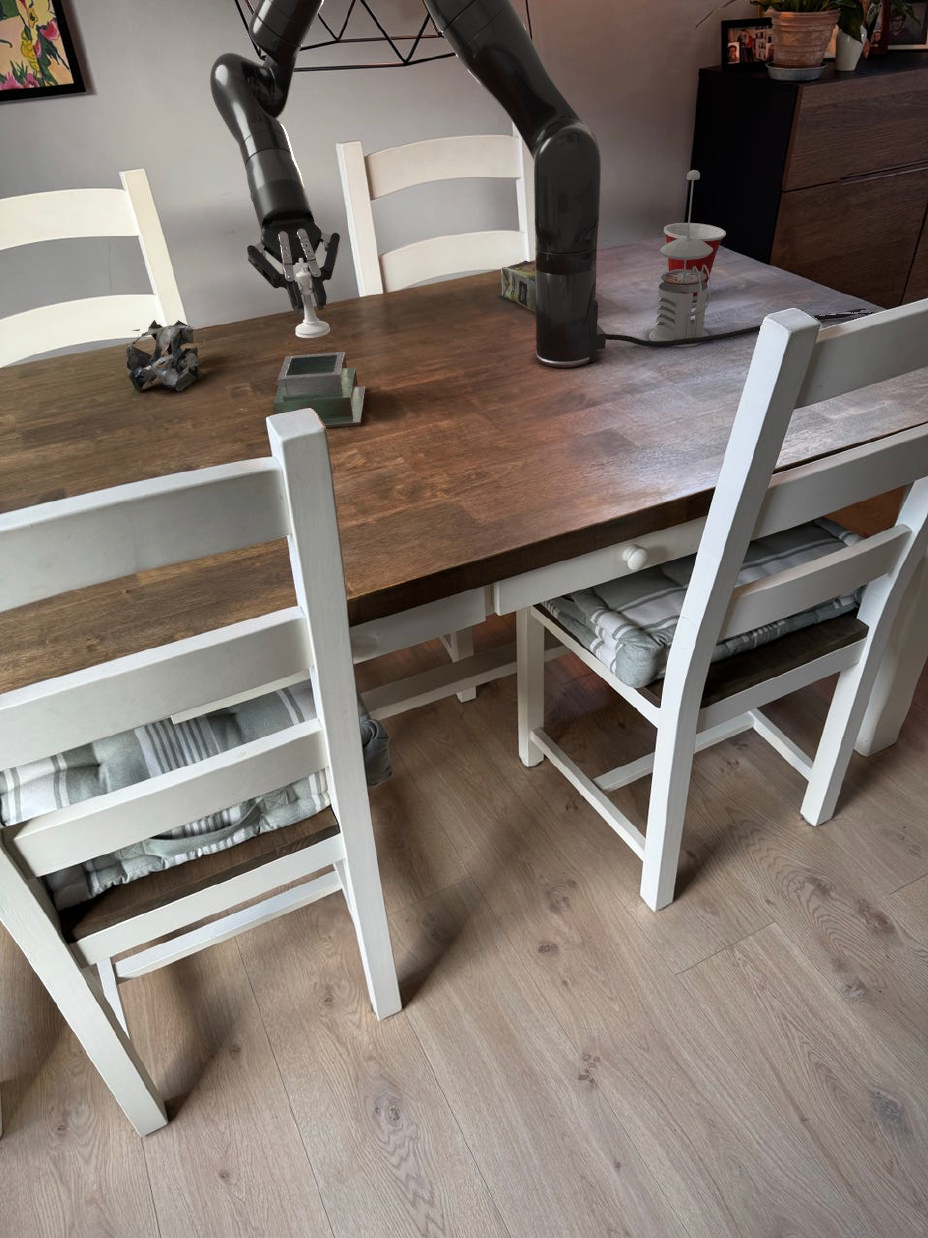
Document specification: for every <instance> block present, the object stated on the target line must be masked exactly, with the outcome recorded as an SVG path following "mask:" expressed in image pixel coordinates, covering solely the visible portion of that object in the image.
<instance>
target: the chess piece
mask: <svg viewBox="0 0 928 1238" xmlns="http://www.w3.org/2000/svg"><path fill="white" fill-rule="evenodd" d="M294 266H295V268H299V270H300V271H298V272H297V273H296V274H295V277H296V279H297V282H298V284H299V285H300V287H301V289H299V290H300V293H301V296H303V304H304V319H303V320H302V323H299V324H297V326H296V327H295V336H296V337H299V338H302V339H316V338H320V337H324V336H326V335H328V334H329V333H330V332H331V328H330V324H329V323H328V322H326V321H323V320H320V319H319V317H317V313H316V311H315V308H314V303H313V300H312V296H311V295H313V293H314V291H313V289H312V287H310V284H311V280H310V278H311V273H310V272H308V271H306V269H305V267H308V263H304V262H303V258H299V263H296V264H295V265H294Z"/></svg>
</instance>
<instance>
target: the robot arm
mask: <svg viewBox="0 0 928 1238" xmlns="http://www.w3.org/2000/svg"><path fill="white" fill-rule="evenodd" d="M423 1H424V4H425V6H426V8H427V10H428V12H429V14H430V16H431V18H432V20H433V21H434V23H435V25H436V26H437V28H438V30H439V31H440V33H441V34H442V36H443V37H444V39H445V40H446V42H447V43H448V45H449V47H450V48H451V49H452V52H454V54H455V55H456V56H457V58H458V59H459V61H460V62H461V63H462V64H463V66H464V67H465V68H466V70H467V71H468V73H470V74H471V76H472V77H473V78H474V79H475V81H477V82H478V84H479V85H480V86H481V87H482V88H483V89H484V91H486V92H487V93H488V94H489V95H490V96H491V98H493V99H494V100H495V101H496V102H497V104H498V105H499V106H500V107H501V108H502V110H504V112H505V113H506V114H507V116H508V117H509V119H510V120H511V122H512V123H513V125H514V127H515V128H516V131H518V134H519V136H520V137H521V139H522V141H523V142H524V144H525V146H526V148H527V150H528V152H529V154H530V156H531V158H532V160H533V193H534V194H533V200H534V201H533V202H534V203H533V204H534V246H535V247H534V250H535V251H534V252H535V253H534V256H535V259H534V260H535V267H536V268H535V269H536V313H535V360H536V361H537V362H538V363H539V364H541V365H543V366H547V367H551V368H563V369H564V368H565V369H566V368H575V367H580V366H584V365H586V364H589V363H595V362H596V363H597V351H599V350H605V349H606V347H607V346H606V345H607V344H606V343H607V341H621V342H628V343H632V344H635V345H637V346H642V347H651V348H662V347H671V346H676V345H685V344H694V343H701V344H703V343H708V342H713V341H714V342H715V341H720V340H725V339H731V338H735V337H740V336H744V335H748V334H752V333H757V332H760V331H759V330H760V326H761V325H762V324H760V325H754V326H750V327H746V328H741V329H738V330H734V331H733V330H732V331H728V332H722V333H717V334H711V335H709V336H705V337H697V338H688V339H679V340H670V341H652V340H645V339H641V338H639V337H635V336H631V335H626V334H615V333H606V332H605V330H603V328H602V327H601V326H600V325H599V324H598V321H599V319H598V315H599V300H598V298H597V296H596V295H597V264H598V262H597V261H598V236H599V234H598V233H599V226H600V207H601V205H600V204H601V203H600V202H601V181H602V180H601V179H602V156H601V150H600V147H599V144H598V140H597V138H596V136H595V134H594V132H593V131H592V130H591V129H590V127H589V126H588V124H587V123H585V122H584V121H583V119H582V118H581V116H580V115H579V114H578V113H577V112H576V110H575V109H574V108H573V107H572V106H571V104H570V103H569V101H568V100H567V99H566V98H565V96H564V95H563V94H562V93H561V91H560V90H559V88H558V87H557V85H556V84H555V82H554V81H553V79H552V78H551V75H549V73H548V71H547V69H546V67H545V65H544V63H543V61H542V59H541V57H540V55H539V52H538V50H537V48H536V45H535V44H534V42H533V40H532V38H531V36H530V34H529V32H528V30H527V29H526V26H525V24H524V22H523V21H522V18H521V17H520V15H519V13H518V11H517V9H516V8H515V6H514V4H513V3H512V1H511V0H423ZM323 3H324V0H258V3H257V5H256V7H255V8H254V11H253V13H252V15H251V18H250V20H249V23H248V34H249V36H250V38H251V40H252V41H253V43H254V44H255V46H257V48H259V49H260V50H261V52H263V53H264V54H265V60H264V61H263V64H260V63H259V62H256V61H254V60H251V59H249V58H247V57H246V56H243V55H241V54H238V53H235V52H226V53H225V52H224V53H223V54H220V55H219V56H218V57H216V59H215V61H214V62H213V64H212V66H211V70H210V75H209V79H210V80H209V85H210V86H209V87H210V92H211V97H212V100H213V102H214V104H215V105H214V106H215V107H216V109H217V111H218V113H219V115H220V116H221V118H222V120H223V121H224V124H225V125H226V127H227V129H228V130H229V133H230V135H231V136H232V137H233V139H234V140H235V142H236V143H237V145H238V146H239V152H240V155H241V158H242V161H243V165H244V168H245V169H244V170H245V173H246V179H247V180H246V181H247V185H248V190H249V197H250V199H251V202H252V204H253V208H254V211H255V215H256V218H257V221H258V225H259V229H260V232H261V234H260V241H259V242H258V243H257V244H255V245H253V244H250V245H248V246H247V247H246V254H247V261H248V262H249V263H250V264H251V266H252V267H254V269H255V270H256V271H257V272H258V273H259V274H260V275H261V276H262V277H263V279H265V280H266V281H267V282H268V283H269V284H270V286H271V287H273V288H274V289H279V288H283V289H285V291H286V292H287V294H288V298H289V302H290V305H291V308H292V309H293V311H297V313H298V314H299V315H300V314H301V315H302V314H305V310H304V299H303V297H302V295H301V293H300V290H301V289H300V286H299V282H298V281H296V278H295V277H296V275H295V272H294V271H295V270H294V266H295V264H296V263H299V258H303V262H304V263H308V267H304V268H305V271H308V272H310V273H311V278H310V283H311V288H312V289H313V291H314V293H312V295H313V296H314V301H315V304H316V309H317V311H323V310H324V307H325V306H327V300H328V299H327V298H328V297H327V292H326V288H325V285H324V283H323V282H324V281H330V280H331V279H332V277H333V273H334V270H335V265H336V261H337V258H338V254H339V250H340V242H341V235H340V234H339V233H338V232H332V234H329V233H325V232H322V229H321V228H320V226H319V225H318V224H317V223H316V221H315V217H314V215H313V211H312V208H311V205H310V200H309V197H308V193H307V190H306V187H305V183H304V180H303V176H302V173H301V171H300V169H299V165H298V164H297V162H296V159H295V155H294V152H293V149H292V145H291V141H290V138H289V136H288V132H287V129H286V128H285V126H284V125H283V124H282V122H280V120H278V119H279V118H280V117H281V115H282V114H283V112H284V111H285V109H286V106H287V103H288V101H289V100H288V99H289V96H290V90H291V85H292V81H293V75H294V70H295V69H296V68H295V67H296V63H297V58H298V55H299V52H300V50H301V49H302V47H303V45H304V43H305V41H306V39H307V36H308V35H309V33H310V31H311V29H312V27H313V25H314V23H315V21H316V19H317V17H318V15H319V12H320V10H321V7H322V5H323ZM320 243H322V245H323V250H324V252H326V255H325V259H324V264H323V266H319V263H318V261H317V257H316V253H317V250H318V248H319V247H320ZM267 254H269V255H270V256H271V257H272V258H274V259H275V260H276V261H277V262H279V264H281V269H282V273H281V272H280V271H279V270H278V269H276V267H275V266H274V265H273V264H272V263H271V262H270V261H269V260H268V259H267ZM866 309H867V308H855V309H849V310H845V312H851V313H852V312H853V313H854V312H860V311H861V310H866ZM872 313H875V312H874V311H873V312H871V313H858V314H836V315H825V316H819V315H820V314H813V315H812V316H814V317H815V318H817V319H818V320H817V321H825V320H836V319H841V318H842V319H843V318H844V319H845V318H849V317H852V316H857V315H865V316H868V314H872ZM702 342H703V343H702Z"/></svg>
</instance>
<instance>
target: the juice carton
mask: <svg viewBox="0 0 928 1238" xmlns="http://www.w3.org/2000/svg"><path fill="white" fill-rule="evenodd" d="M535 268H536V267H535V259H533V260H529V261H528V260H523V261H520V262H518V263H515V264H511V265H508V266H503V267H501V270H500V274H501V291H502V292H501V297H503V298H505V299H508V300H510V301H511V302H514V303H516V304H518V305H520V306H522V307H523V308H525V309H526V310H528V311H529V312H532V313H534V314H536V269H535Z"/></svg>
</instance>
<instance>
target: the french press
mask: <svg viewBox="0 0 928 1238" xmlns="http://www.w3.org/2000/svg"><path fill="white" fill-rule="evenodd" d="M700 178H701V173H700V172H699V170H696V169H692V170H690V171H688V173H687V174H686V180H688V181H691V186H690V187H691V188H690V200H689V211H688V221H687V223H688V231H687V238H683V239H677V240H674V241H672V242H670V243H668V244H667V243H666V244H665V245H663V246H662V247H661V248H660V249H659V252H660V254H661V255H662V256H663V257H664V258H667V259H668V258H670V259H677V260H685V263H684V270H683V269H682V270H681V269H680V270H679V269H678V270H677V271H676V270H672V271H669V270H668V271H666V272H664V273H662V274H661V276H660V278H661V280H662V282H661V283H659V284H658V289H657V300H659V299H660V300H659V301H657V303H656V308H658V307H659V308H658V309H657V310H656V316H657V317H656V318H655V323H656V325H655V328H654V329H652V331H651V332H649V335H648V338H649V340H650V341H670V340H679V339H688V338H697V337H705V336H710V335H709V333H708V332H707V331H706V330H705V329H704V327H705V326H704V325H705V317H706V309H707V308H708V306H709V304H710V303H709V302H710V300H711V293H712V281H711V274H710V275H709V271H708V269H707V267H706V265H703V266H702V270H701V272H700V271H698V270H697V268H696V266H694V267H693V270H691V269H690V270H689V269H688V270H687V269H686V260H693V259H700V258H704V257H707V256H708V255H710V254H711V253H712V252H713V248H712V247H710V246H709V245H707V244H706V243H705V242H703V241H701V240H699V239H693V238H689V226H690V223H691V214H692V204H693V192H694V184H695V183H694V181H696V180H697V181H698V180H700ZM704 267H705V269H706V270H707V274H708V277H709V280H708V283H707V284H706V283H705V282H703V281H705V280H706V279H707V275H706V274H704V272H703V269H704ZM694 268H695V270H696V271H695V270H694ZM708 284H709V285H708ZM708 286H709V287H708ZM708 289H709V290H708ZM702 290H703V291H702ZM698 291H700V292H698ZM682 292H686V293H688V294H682ZM695 292H698V293H697V296H695V297H693V293H695ZM707 296H708V298H707ZM695 300H697V301H695ZM692 301H695V302H696V303H693V302H692ZM692 309H694V310H693V311H692ZM692 317H694V318H693V319H692ZM700 344H704V342H702V343H694V344H685V345H676V346H670V348H671V347H672V348H673V347H675V348H685V347H686V348H687V347H693V346H694V347H695V346H697V345H700Z"/></svg>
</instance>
